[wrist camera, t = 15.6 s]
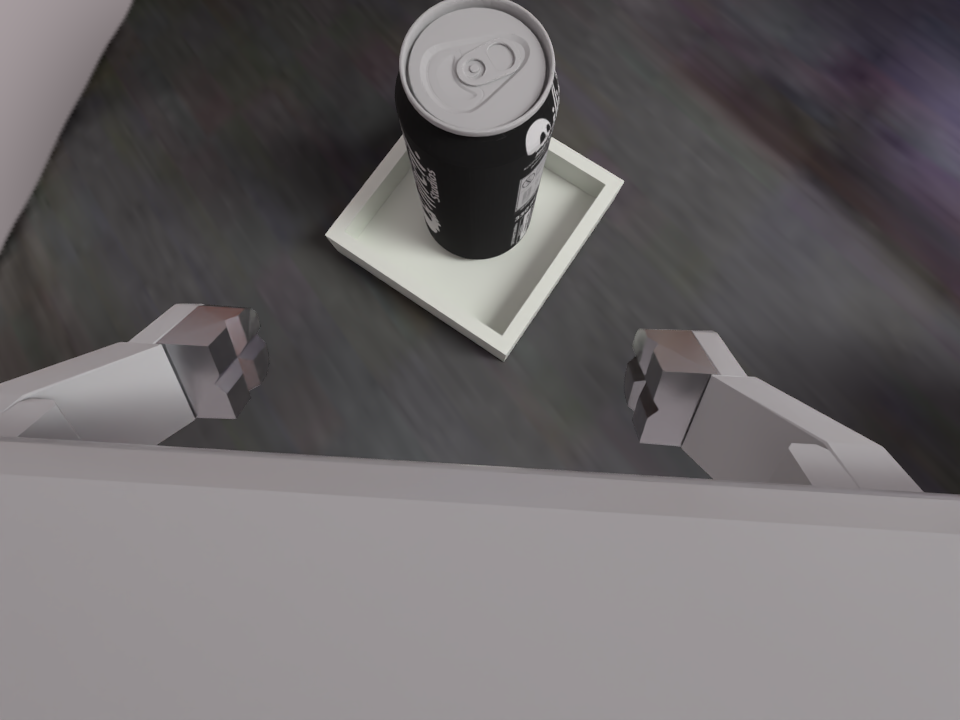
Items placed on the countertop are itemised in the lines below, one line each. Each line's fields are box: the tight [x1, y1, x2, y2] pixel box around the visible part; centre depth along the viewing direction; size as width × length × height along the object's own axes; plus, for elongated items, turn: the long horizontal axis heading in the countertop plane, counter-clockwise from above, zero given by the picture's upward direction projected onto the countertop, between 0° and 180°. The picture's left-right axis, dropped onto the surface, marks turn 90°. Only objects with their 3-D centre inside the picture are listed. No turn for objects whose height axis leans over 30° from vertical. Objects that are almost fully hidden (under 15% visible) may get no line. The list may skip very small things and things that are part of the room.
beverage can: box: [395, 0, 560, 260], centre depth 23 cm, size 7×7×12 cm
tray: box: [325, 135, 624, 362], centre depth 28 cm, size 13×13×2 cm
